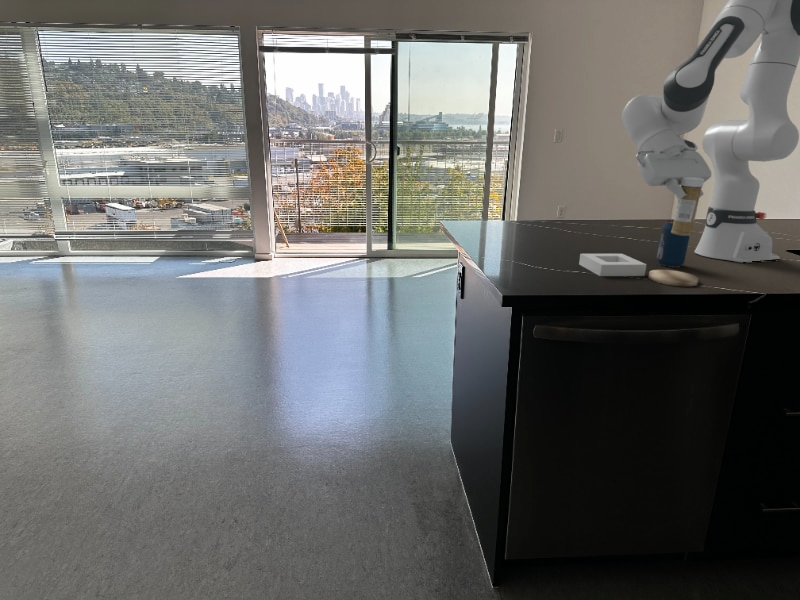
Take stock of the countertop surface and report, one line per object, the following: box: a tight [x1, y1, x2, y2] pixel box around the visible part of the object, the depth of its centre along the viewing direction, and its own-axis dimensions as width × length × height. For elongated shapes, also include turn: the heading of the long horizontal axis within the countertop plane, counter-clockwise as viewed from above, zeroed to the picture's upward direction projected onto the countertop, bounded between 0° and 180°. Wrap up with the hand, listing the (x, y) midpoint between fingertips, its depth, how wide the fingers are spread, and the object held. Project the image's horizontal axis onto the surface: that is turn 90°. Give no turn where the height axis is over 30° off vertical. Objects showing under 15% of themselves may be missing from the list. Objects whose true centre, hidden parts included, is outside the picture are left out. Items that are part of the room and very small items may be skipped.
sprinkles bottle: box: [671, 177, 705, 236], centre depth 121 cm, size 5×5×14 cm
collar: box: [578, 253, 647, 277], centre depth 134 cm, size 12×12×3 cm
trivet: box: [647, 269, 699, 287], centre depth 126 cm, size 11×11×1 cm
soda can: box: [656, 220, 691, 268], centre depth 140 cm, size 7×7×12 cm
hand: (691, 196), depth 119 cm, fingers closed on sprinkles bottle, 4 cm apart
